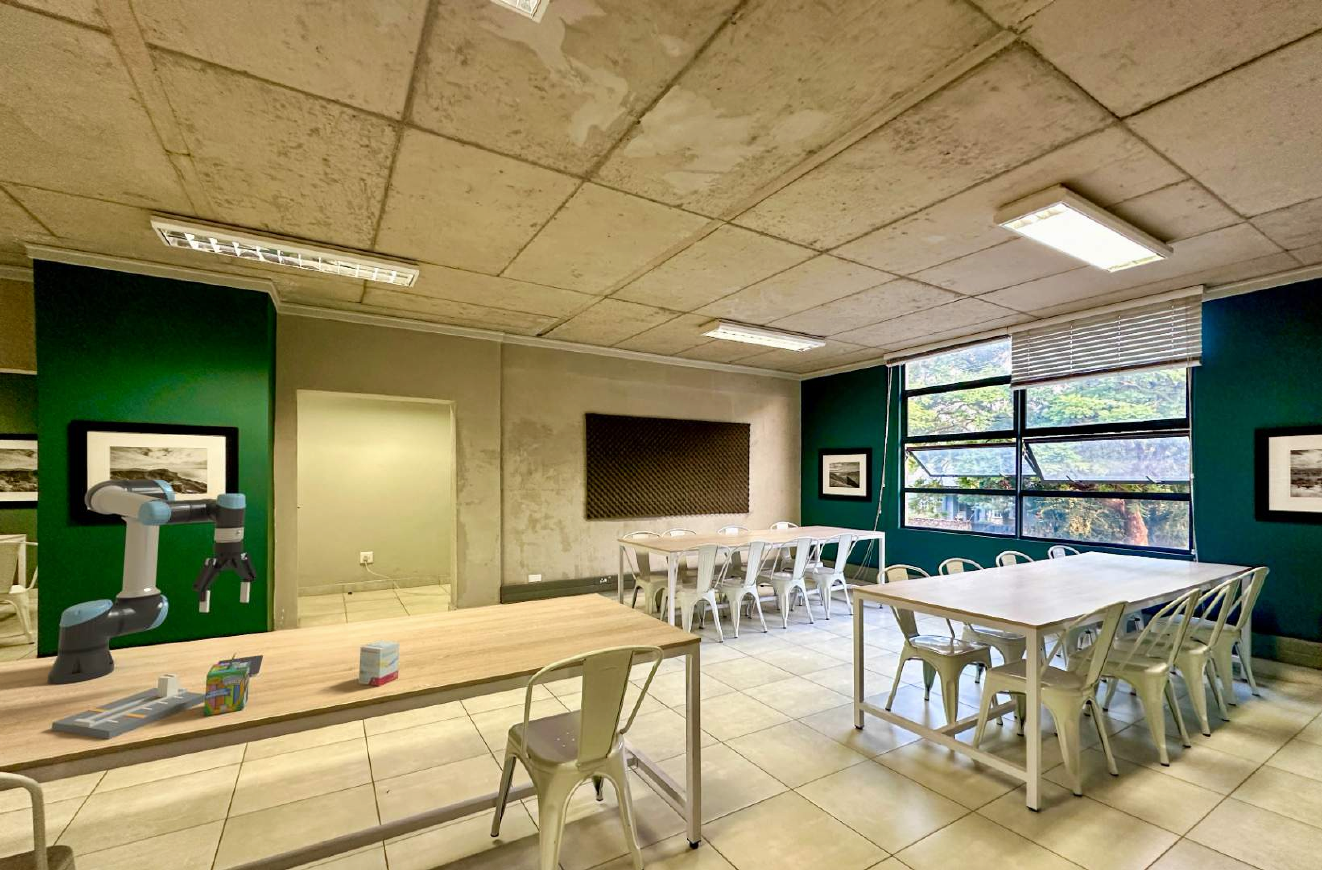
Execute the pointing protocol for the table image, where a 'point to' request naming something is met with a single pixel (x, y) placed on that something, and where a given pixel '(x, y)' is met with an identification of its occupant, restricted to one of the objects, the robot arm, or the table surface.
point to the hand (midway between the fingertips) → (224, 606)
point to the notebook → (254, 663)
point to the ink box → (379, 663)
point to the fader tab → (168, 685)
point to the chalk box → (227, 687)
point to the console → (127, 713)
